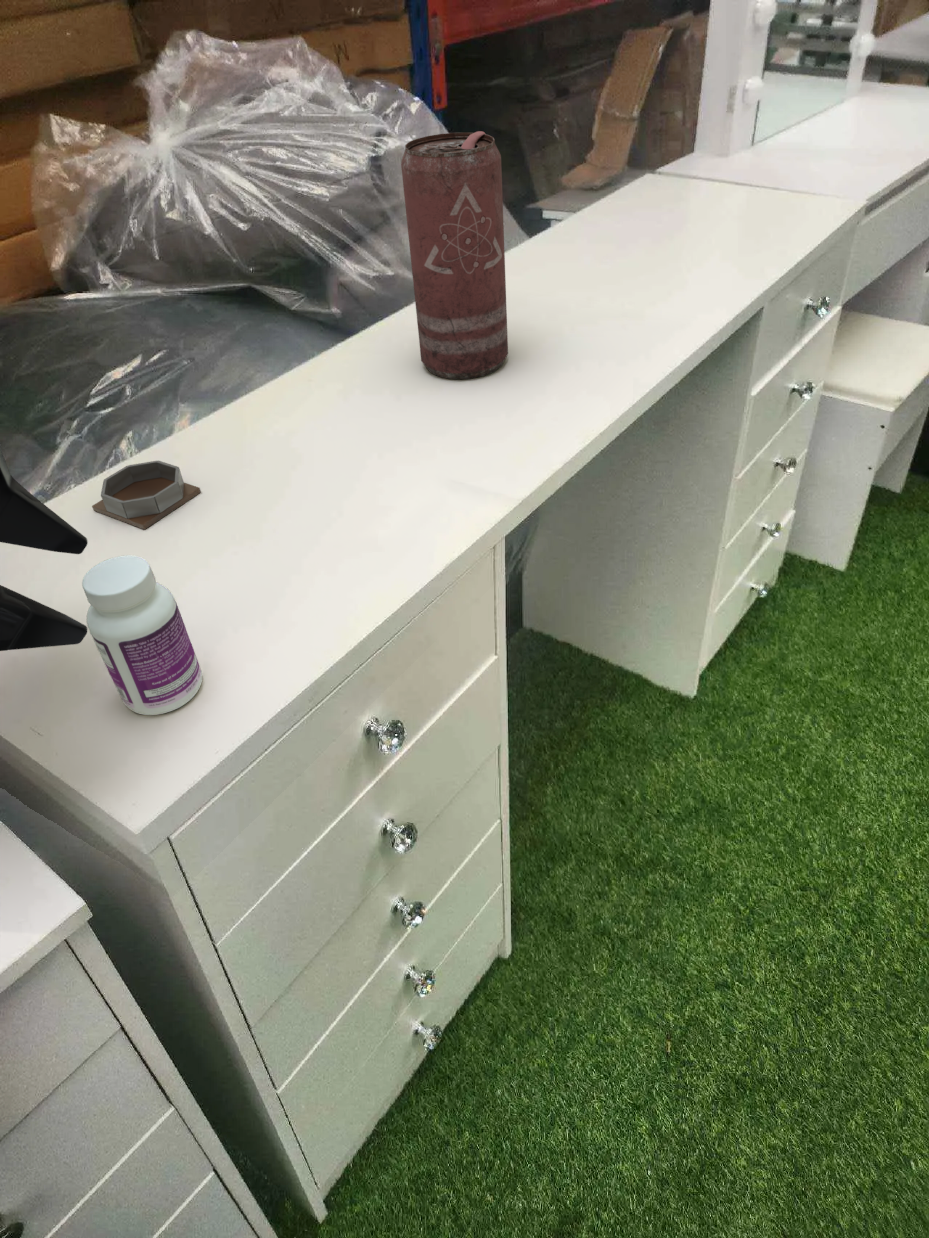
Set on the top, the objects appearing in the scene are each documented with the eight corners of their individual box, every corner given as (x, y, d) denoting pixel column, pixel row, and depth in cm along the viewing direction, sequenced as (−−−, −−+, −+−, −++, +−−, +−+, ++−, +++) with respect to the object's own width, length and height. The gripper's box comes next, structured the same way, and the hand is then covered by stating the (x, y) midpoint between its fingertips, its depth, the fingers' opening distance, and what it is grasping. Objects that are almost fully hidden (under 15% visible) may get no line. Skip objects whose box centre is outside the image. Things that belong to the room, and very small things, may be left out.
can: (526, 352, 95) (521, 131, 81) (477, 388, 89) (463, 155, 75) (456, 338, 100) (440, 125, 86) (404, 371, 94) (378, 148, 80)
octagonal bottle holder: (144, 530, 73) (136, 508, 72) (93, 510, 76) (85, 490, 75) (201, 492, 77) (195, 471, 76) (150, 475, 80) (143, 455, 79)
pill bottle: (215, 662, 60) (175, 547, 53) (188, 719, 55) (142, 602, 49) (140, 660, 60) (92, 547, 54) (108, 717, 56) (53, 601, 50)
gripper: (-219, 417, 33) (163, 576, 42) (-128, 270, 47) (145, 414, 56) (-318, 628, 36) (55, 732, 46) (-206, 433, 50) (63, 544, 59)
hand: (84, 588), depth 52 cm, fingers open, 9 cm apart
